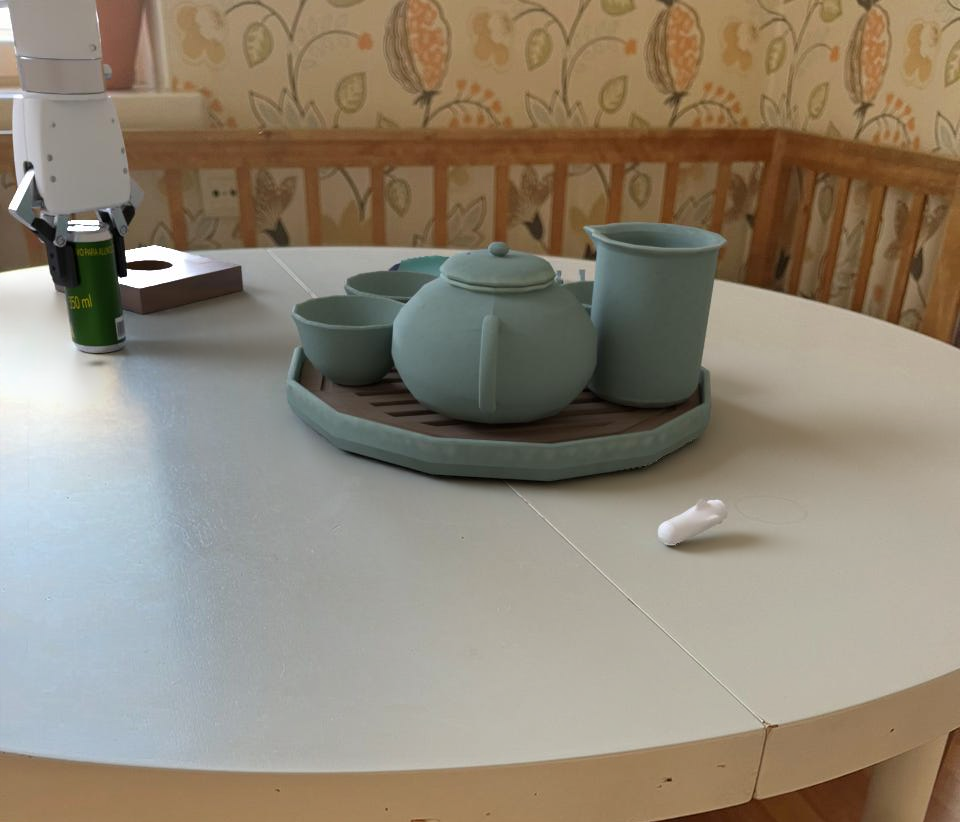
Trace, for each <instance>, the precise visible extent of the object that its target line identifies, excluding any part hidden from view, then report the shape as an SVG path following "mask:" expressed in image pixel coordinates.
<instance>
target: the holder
mask: <svg viewBox="0 0 960 822" xmlns="http://www.w3.org/2000/svg"><path fill="white" fill-rule="evenodd" d="M125 252H126V260H127V273H128V276H127V277H126V278H119V277H118V278H119V286H120V294H121V301H122V309H123V310H125V311H129V312H132V313H137V314H140V315H146V314H150V313H154V312H159V311H163V310H166V309H171V308H175V307H179V306H184V305H188V304H192V303H196V302H199V301H200V302H201V301H203V300H208V299H212V298H216V297H220V296H225V295H228V294H233V293H237V292H240V291H243V290H244V282H243V269H242V268H243V267H242V265H241V264H236V263H232V262H229V261H224V260H219V259H214V258H210V257H205V256H202V255H197V254H193V253H188V252H184V251H180V250H175V249H172V248H168V247H167V248H166V247H162V246H158V245H151V246H147V247H140V248H135V249H130V250H129V249H128V250H125ZM53 284H54V290H55V291H57V292H61V293H64V294H65V291H64V286H60V285H57V284H55V283H54V282H53Z"/></svg>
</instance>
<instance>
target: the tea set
mask: <svg viewBox="0 0 960 822" xmlns="http://www.w3.org/2000/svg"><path fill="white" fill-rule="evenodd" d="M582 228H583V229H584V231H585V233H586V234H587V236H588V237H589V238H590V240H591V241H592V243H593V245H594V246H593V247H594V248H595V250H596V257H595V269H594V280H585V281H580V280H578V281H573V282H565V283H563V284H561V285H559V284H558V282H559V280H558V279H557V276H556V271H555V270H554V267H553V265H552V264H551V263H550V262H549V261H548V260H546V259H545V258H544V257H541V256H539V255H538V256H537V255H535V254H532V253H529V252H526V251H519V250H513V249H510V246H509V245H508V244H507V243H505V242H503V241H493V242H491V243H490V244H489V245H488V246H487V247H488V248H484V249H482V248H481V249H472V250H466V251H462V252H458V253H455V254H453V255H450V256H448V257H449V258H448V259H447V260H446V261H445V262H444V263H443V265H442V266H441V267H440V272H442V273H441V274H440V276H437V275H434V274H430V273H422V272H414V271H388V270H375V271H369V272H360V273H357V274H354V275H352V276H350V277H347V278H345V279H344V283H343V289H344V291H345V293H346V294H334V295H326V296H320V297H319V296H318V297H313V298H312V297H311V298H309V299H306V300H303V301H302V302H299V303H297V304H294V305H293V307H292V311H291V313H290V314H291V315H290V317H291V318H292V320H293V322H294V324H295V326H296V328H297V332H298V334H299V335H298V336H299V338H300V342H301V345H298V346H296V347H295V348H294V350H293V354H292V358H291V362H290V365H289V369H288V372H287V377H286V381H285V391H286V402H287V403H288V405H289V407H290V409H291V411H292V413H293V414H294V415H295V416H297V417H298V418H299V419H301V420H302V421H303V422H304V423H306V424H307V425H308V426H309V427H311V428H312V429H313V430H314V431H316V432H317V433H318V434H319V435H321V436H322V437H323V438H325V439H326V440H327V441H328V442H330V443H331V444H332V445H333V446H335V447H336V448H337V449H340V450H343V451H347V452H351V453H354V454H358V455H362V456H364V457H368V458H373V459H375V460H380V461H384V462H385V463H390V464H393V465H398V466H401V467H405V468H408V469H412V470H415V471H419V472H422V473H425V474H429V475H440V476H456V477H471V478H472V477H473V478H475V477H476V478H489V479H491V478H492V479H508V480H523V481H524V480H525V481H540V482H552V481H557V480H565V479H573V478H577V477H585V476H591V475H599V474H605V473H612V472H618V470H619V471H625V470H631V469H630V468H632V469H636V468H635V467H638V468H642V467H641V466H645V465H646V466H645V467H648V466H647V465H649V466H651V465H652V464H651V463H653V462H655V461H656V460H658V459H660V458H662V457H663V456H665V455H667V454H669V453H670V454H672V453H674V452H675V451H674V450H676V449H677V450H679V449H681V448H682V447H684V446H686V445H687V444H686V443H688V442H689V443H691V442H692V441H691V440H693V439H695V438H696V439H698V438H700V437H701V436H702V435H703V434H704V432H705V430H706V429H707V427H708V426H709V424H710V417H711V412H712V411H711V410H712V390H711V389H712V387H711V372H710V370H709V369H707V368H705V367H704V366H702V362H703V355H704V350H705V342H706V337H707V329H708V324H709V317H710V311H711V310H710V309H711V305H712V304H711V303H712V298H713V292H714V284H715V278H716V272H717V265H718V259H719V253H720V249H721V248H723V247H724V246H725V245H727V243H728V240H727V239H726V238H724V237H723V236H722V235H721V234H720V233H717V232H715V231H710V230H707V229H703V228H699V227H695V226H687V225H680V224H673V223H665V222H664V223H662V222H647V221H646V222H645V221H644V222H643V221H634V222H630V221H629V222H611V223H607V224H597V225H583V227H582ZM700 435H701V436H700ZM699 436H700V437H699ZM697 437H698V438H697ZM696 439H695V440H696ZM690 441H691V442H690ZM693 441H694V440H693ZM689 443H688V444H689ZM685 444H686V445H685ZM683 445H684V446H683ZM681 446H682V447H681ZM680 447H681V448H680ZM678 448H679V449H678ZM677 450H676V451H677ZM673 451H674V452H673ZM671 452H672V453H671ZM670 454H669V455H670ZM667 456H668V455H667ZM665 457H666V456H665ZM663 458H664V457H663ZM663 458H662V459H663ZM660 460H661V459H660ZM658 461H659V460H658ZM656 462H657V461H656ZM656 462H655V463H656ZM650 464H651V465H650ZM653 464H654V463H653ZM639 466H640V467H639ZM624 469H625V470H624Z"/></svg>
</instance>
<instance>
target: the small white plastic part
mask: <svg viewBox="0 0 960 822" xmlns="http://www.w3.org/2000/svg"><path fill="white" fill-rule="evenodd" d="M727 516H728V509H727V506H726V505H725V503H724V502H723V501H722V500H720V499H715V500H714V499H709V500H707V501H706V499H705V498H700V499H698V501H697V502H696V504H695V505H693V506H692V507H690V508H688V509H687V510H686V511H684V512H682V513H679V514H678V515H676V516H674V517H671V518H670V519H667V520H666V521H663V522H662V523H661V524H660V525H659V527H658V528H657V536H658V538H656V539H654V542H656V541H658V540H659V541H660V540H661V541H663V542H666V543H668V544H677V543H679V544H681V543H683V542H685V541H687V540H689V539H691V538H693V537H696V536H697V535H699V534H701V533H704V532H705V531H707V530H709V529H711V528H714V527H715V526H717V525H721V524H722V523H723V522H724V520H725V519H726V518H727ZM686 539H687V540H686ZM684 540H685V541H684ZM661 541H660V542H661ZM682 541H683V542H682ZM680 542H681V543H680ZM677 545H678V544H677Z"/></svg>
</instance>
